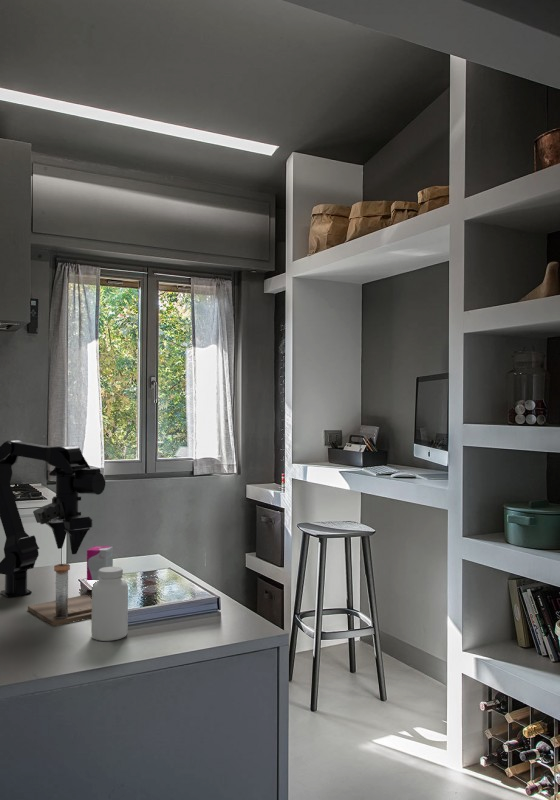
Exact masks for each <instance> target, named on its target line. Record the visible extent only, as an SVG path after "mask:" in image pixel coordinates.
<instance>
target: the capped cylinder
mask: <svg viewBox="0 0 560 800" xmlns="http://www.w3.org/2000/svg"><path fill="white" fill-rule="evenodd" d="M70 570H71V564H69V563H60V564H55V565H54V566H53V571H54V572H55V601H56V617H55V618H56V619H57V620H58V619H62V618H67V616H68V598H69V571H70Z"/></svg>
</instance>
